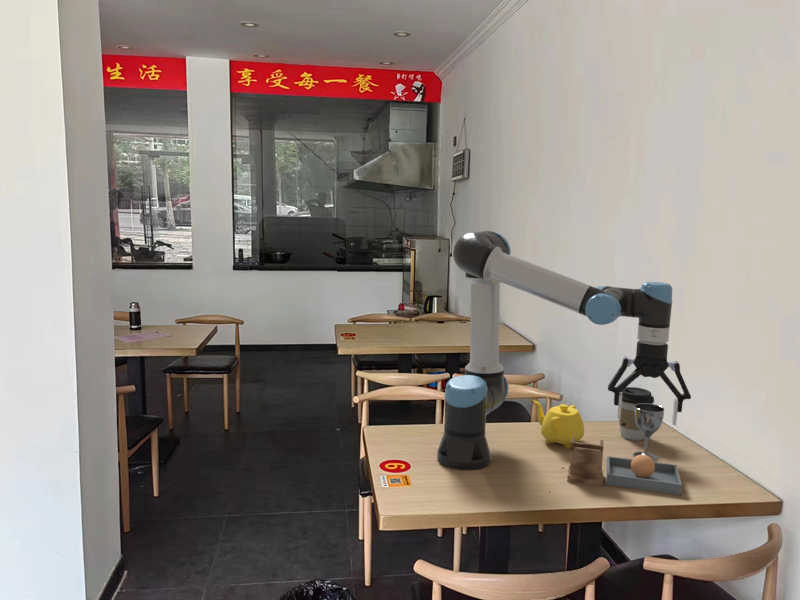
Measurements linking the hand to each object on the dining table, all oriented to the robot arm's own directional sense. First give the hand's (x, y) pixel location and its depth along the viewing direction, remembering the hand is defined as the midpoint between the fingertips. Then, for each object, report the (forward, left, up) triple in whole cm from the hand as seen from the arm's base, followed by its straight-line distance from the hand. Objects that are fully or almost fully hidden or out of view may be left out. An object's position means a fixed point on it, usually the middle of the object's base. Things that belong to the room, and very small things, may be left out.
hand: (646, 420), depth 165 cm
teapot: (-24, +21, -17) cm, 36 cm away
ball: (0, 0, -16) cm, 16 cm away
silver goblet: (+2, +17, -17) cm, 24 cm away
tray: (0, 0, -17) cm, 17 cm away
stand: (-14, -5, -17) cm, 22 cm away
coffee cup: (-1, +33, -17) cm, 37 cm away
